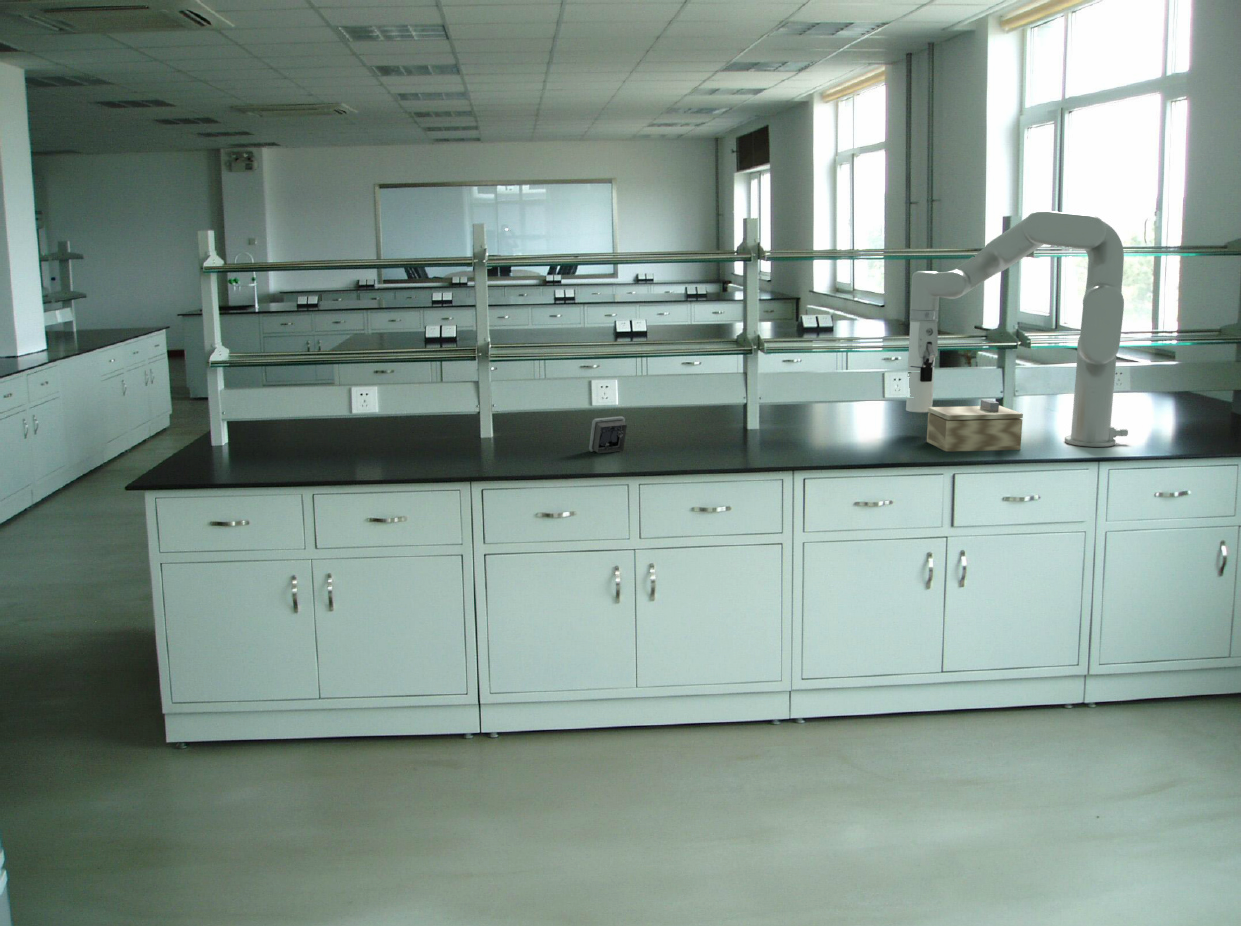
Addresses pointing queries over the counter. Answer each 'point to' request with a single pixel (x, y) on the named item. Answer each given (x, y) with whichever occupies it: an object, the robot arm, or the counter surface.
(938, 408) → the lid
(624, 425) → the electrical switch
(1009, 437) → the wooden box
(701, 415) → the counter surface
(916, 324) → the cylindrical container
